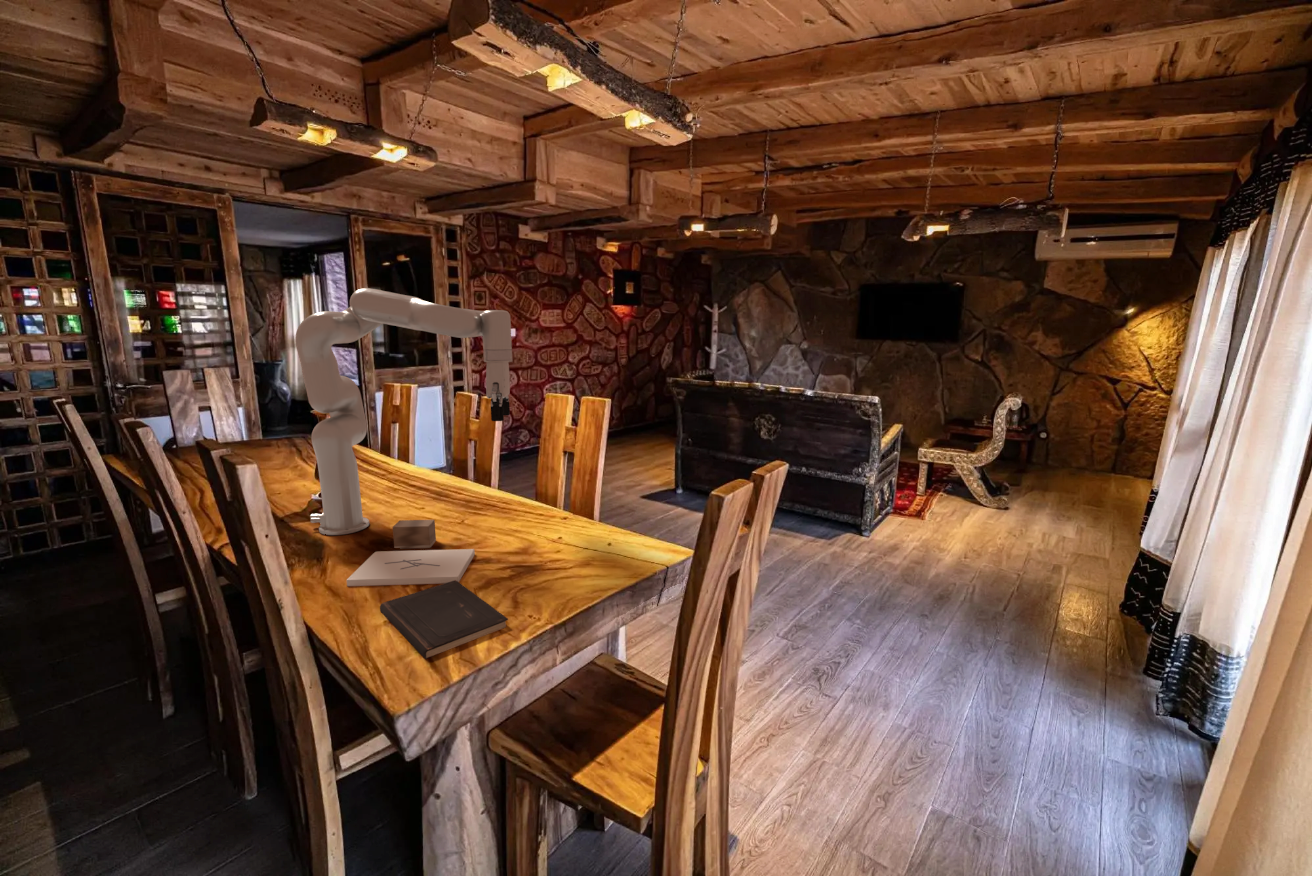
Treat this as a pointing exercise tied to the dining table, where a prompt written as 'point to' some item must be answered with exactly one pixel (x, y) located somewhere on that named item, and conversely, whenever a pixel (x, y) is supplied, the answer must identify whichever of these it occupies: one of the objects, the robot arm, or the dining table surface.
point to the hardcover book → (442, 617)
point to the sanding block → (414, 534)
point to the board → (412, 567)
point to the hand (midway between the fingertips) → (500, 418)
